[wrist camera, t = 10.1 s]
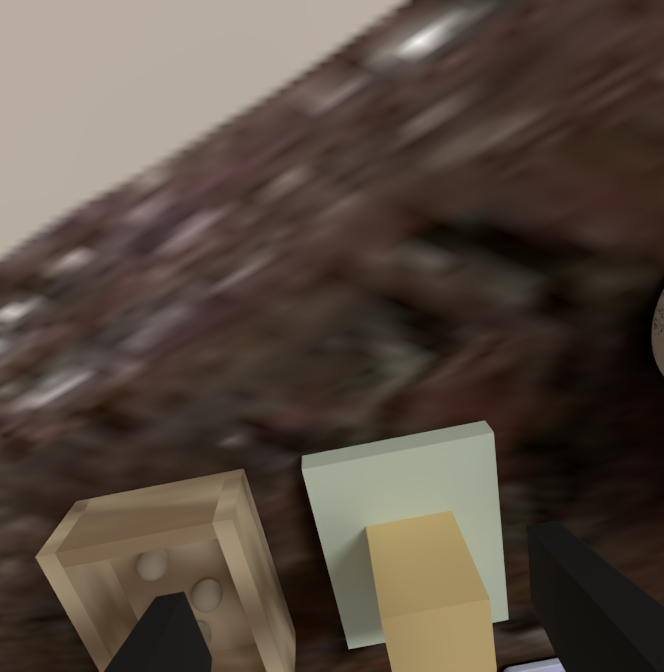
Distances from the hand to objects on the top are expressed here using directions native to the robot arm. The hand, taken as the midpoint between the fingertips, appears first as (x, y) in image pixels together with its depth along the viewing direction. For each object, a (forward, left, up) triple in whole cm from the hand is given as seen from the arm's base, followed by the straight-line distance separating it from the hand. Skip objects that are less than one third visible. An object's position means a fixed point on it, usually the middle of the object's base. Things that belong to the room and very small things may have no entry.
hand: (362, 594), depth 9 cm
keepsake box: (-9, +9, -10) cm, 16 cm away
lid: (-9, -2, -10) cm, 14 cm away
